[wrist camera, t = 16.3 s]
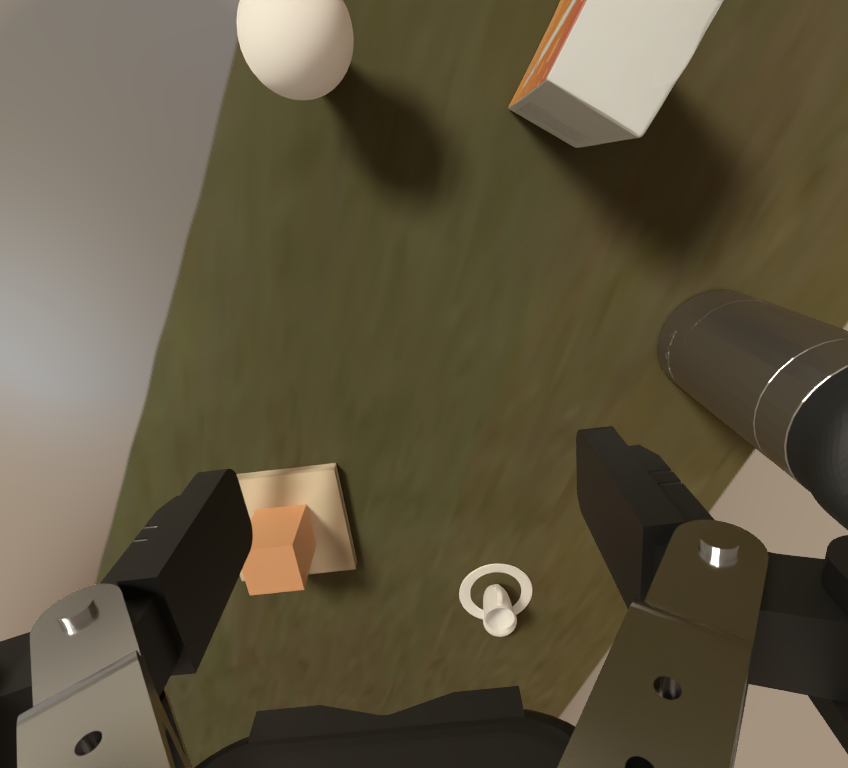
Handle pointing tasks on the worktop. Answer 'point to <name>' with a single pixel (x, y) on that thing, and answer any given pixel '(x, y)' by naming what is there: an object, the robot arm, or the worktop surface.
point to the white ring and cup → (496, 599)
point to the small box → (609, 66)
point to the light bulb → (296, 44)
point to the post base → (323, 507)
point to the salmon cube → (279, 550)
